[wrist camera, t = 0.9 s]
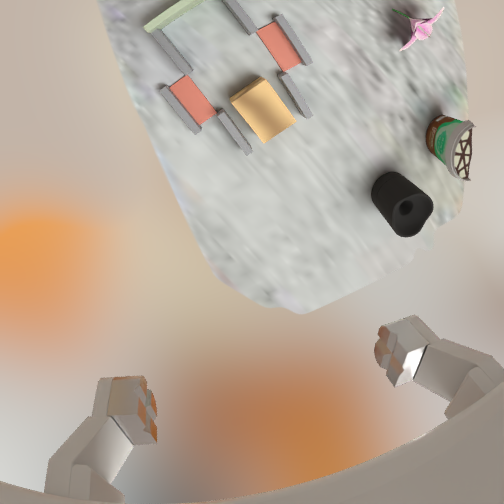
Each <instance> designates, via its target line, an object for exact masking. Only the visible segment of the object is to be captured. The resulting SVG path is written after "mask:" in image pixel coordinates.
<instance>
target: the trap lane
mask: <svg viewBox="0 0 504 504" xmlns="http://www.w3.org/2000/svg"><path fill="white" fill-rule="evenodd" d="M203 1H205V0H181V1H179V2H177V3H176V4H174V5H173V6H171V7H170V8H169V9H167V10H166V11H164V12H163V13H161V14H160V15H158V16H157V17H156V18H154V19H153V20H152V21H150V22H149V23H148V24H146V25H145V26H144V27H143V28H144V29H145V30H146V31H147V32H148V33H150V34H151V35H152V36H153V37H154V38H155V39H156V41H157V42H158V43H159V44H160V45H161V47H162V48H163V49H164V50H165V51H166V53H167V54H168V55H169V56H170V57H171V59H172V60H173V61H174V62H175V63H176V65H177V66H178V67H179V68H180V70H181V71H182V72H183V73H184V75H185V76H184V77H183V78H182V79H180V80H179V81H178V82H176V83H175V84H174V85H172V86H171V87H170V88H169V86H168V85H166V86H165V87H164V88H162V89H161V90H160V91H159V92H160V93H161V94H162V95H163V96H164V98H165V99H166V100H167V101H168V103H169V104H170V105H171V106H172V107H173V109H174V110H175V111H176V112H177V113H178V115H179V116H180V117H181V118H182V120H183V121H184V122H185V123H186V124H187V126H188V127H189V128H190V129H191V131H192V132H193V133H194V134H195V135H196V134H197V133H199V132H200V131H201V129H202V127H201V126H200V124H202V123H203V122H205V121H206V120H207V119H209V118H210V117H212V116H213V115H215V114H216V113H217V117H218V118H219V119H220V121H221V122H222V123H223V125H224V126H225V127H226V129H227V130H228V131H229V133H230V134H231V135H232V137H233V138H234V139H235V141H236V142H237V143H238V145H239V146H240V147H241V149H242V150H243V152H244V153H245V154H246V156H247V155H249V154H250V153H252V152H253V150H252V148H251V146H250V144H249V143H248V142H247V140H246V139H245V137H244V136H243V135H242V133H241V132H240V130H239V129H238V128H237V126H236V125H235V124H234V122H233V121H232V120H231V118H230V117H229V115H228V114H227V113H226V111H225V110H224V109H222V110H220V111H219V112H216V111H215V109H214V108H213V107H212V106H211V104H210V103H209V102H208V100H207V99H206V98H205V96H204V95H203V94H202V93H201V91H200V90H199V89H198V88H197V86H196V85H195V84H194V82H193V81H192V80H191V79H190V77H189V76H188V74H189V73H191V72H192V71H193V69H192V67H191V66H190V65H189V64H188V62H187V61H186V60H185V59H184V57H183V56H182V55H181V54H180V52H179V51H178V50H177V49H176V48H175V46H174V45H173V44H172V43H171V42H170V40H169V39H168V38H167V37H166V36H165V34H164V33H163V32H162V31H161V29H162V28H164V27H165V26H167V25H168V24H169V23H171V22H172V21H174V20H175V19H177V18H178V17H180V16H181V15H183V14H184V13H186V12H187V11H189V10H190V9H192V8H194V7H195V6H197V5H199V4H200V3H202V2H203ZM222 1H223V2H224V3H225V5H226V6H227V7H228V8H229V10H230V11H231V12H232V13H233V15H234V16H235V17H236V19H237V20H238V21H239V23H240V24H241V25H242V27H243V28H244V29H245V31H246V32H247V33H248V35H251V34H253V33H255V32H256V33H257V34H258V35H259V37H260V38H261V40H262V41H263V43H264V44H265V45H266V47H267V48H268V50H269V51H270V53H271V54H272V56H273V57H274V59H275V60H276V62H277V63H278V65H279V66H280V68H281V69H282V71H283V72H282V73H280V74H278V75H277V76H278V78H279V80H280V81H281V83H282V84H283V86H284V87H285V89H286V90H287V92H288V94H289V95H290V97H291V98H292V100H293V102H294V103H295V105H296V107H297V108H298V110H299V111H300V113H301V115H302V116H303V117H305V118H306V119H308V118H310V117H312V116H313V114H312V112H311V111H310V109H309V107H308V105H307V104H306V102H305V100H304V99H303V97H302V95H301V94H300V92H299V90H298V89H297V87H296V86H295V84H294V82H293V81H292V79H291V78H290V76H289V74H288V73H286V72H284V71H286V70H288V69H290V68H292V67H294V66H295V65H297V64H299V63H301V62H302V64H303V65H305V66H307V65H309V64H311V63H313V61H312V59H311V58H310V56H309V54H308V53H307V51H306V50H305V48H304V46H303V45H302V43H301V42H300V40H299V38H298V37H297V35H296V34H295V32H294V31H293V29H292V28H291V26H290V25H289V23H288V22H287V20H286V19H285V18H284V16H283V15H282V14H281V15H279V16H277V17H275V18H273V20H274V21H275V22H273V23H271V24H269V25H267V26H265V27H263V28H261V29H260V30H258V29H257V27H256V26H255V25H254V23H253V22H252V21H251V19H250V18H249V17H248V15H247V14H246V13H245V11H244V10H243V9H242V7H241V6H240V5H239V4H238V2H237V1H236V0H222Z"/></svg>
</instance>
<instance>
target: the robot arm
mask: <svg viewBox="0 0 504 504" xmlns="http://www.w3.org/2000/svg"><path fill="white" fill-rule="evenodd" d="M378 336H379V337H380V339H379V340H378V341H377V342H376V343H375V348H374V353H375V358H376V361H377V363H378V364H379V366H380V367H382V368H384V369H386V370H387V372H386V376H387V377H388V379H389V380H390V381H391V383H392V384H393V386H394V387H397V386H399V385H402V384H404V383H407V382H409V381H412V380H413V381H414V382H415V383H417V384H419V385H421V386H423V387H424V388H426V389H428V390H430V391H431V392H433V393H435V394H437V395H439V396H440V397H442V398H444V399H446V400H448V401H450V404H449V406H448V407H447V409H446V410H445V413H444V414H445V415H446V417H447V418H448V420H447V421H446V422H444V423H442V424H441V425H439V426H437V427H436V428H434V429H432V430H430V431H429V432H427V433H425V434H423V435H421V436H419V437H418V438H416V439H414V440H412V441H410V442H408V443H406V444H404V445H402V446H400V447H398V448H396V449H393V450H391V451H389V452H387V453H385V454H382V455H380V456H378V457H376V458H373V459H371V460H369V461H366V462H364V463H361V464H358V465H356V466H354V467H351V468H348V469H346V470H342V471H340V472H337V473H335V474H331V475H328V476H325V477H322V478H319V479H315V480H312V481H309V482H305V483H301V484H298V485H294V486H290V487H286V488H282V489H278V490H274V491H269V492H264V493H259V494H254V495H249V496H243V497H237V498H231V499H223V500H215V501H207V502H194V503H179V504H504V369H503V367H502V366H501V365H500V364H499V363H498V362H497V361H496V360H495V359H494V358H493V357H492V356H491V355H488V354H485V353H483V352H480V351H477V350H474V349H471V348H468V347H466V346H463V345H460V344H457V343H454V342H452V341H449V340H446V339H441V340H440V339H439V338H438V336H436V334H435V333H434V332H433V331H432V330H431V329H430V328H429V327H428V326H427V325H426V324H425V323H424V322H423V321H422V320H421V319H420V318H419V317H418V316H416V315H412V316H409V317H406V318H403V319H400V320H398V321H394V322H392V323H388V324H385V325H382V326H381V327H380V328H379V331H378ZM156 417H157V407H156V401H155V398H154V395H153V393H152V391H151V390H149V389H147V381H146V379H145V377H144V376H142V375H141V376H126V377H111V378H100V380H99V381H98V385H97V391H96V396H95V401H94V406H93V412H92V417H87V418H86V419H85V421H84V422H83V423H82V424H81V425H80V426H79V427H78V428H77V429H76V430H75V432H74V433H73V434H72V435H71V436H70V437H69V438H68V439H67V440H66V442H64V444H63V445H62V446H61V447H60V448H59V449H58V450H57V451H56V453H55V454H54V455H53V456H52V457H51V458H50V459H49V463H48V468H47V475H46V481H45V489H44V493H42V492H38V491H34V490H30V489H26V488H22V487H18V486H15V485H12V484H8V483H5V482H2V481H0V504H125V498H124V495H123V494H122V493H121V492H120V491H119V490H117V489H116V488H114V487H113V486H112V485H111V483H112V481H113V480H114V478H115V477H116V475H117V473H118V472H119V470H120V468H121V466H122V465H123V463H124V462H125V460H126V458H127V457H128V455H129V454H130V452H131V450H132V449H133V447H134V446H133V445H143V444H156V443H157V426H156V425H155V423H154V420H155V418H156Z"/></svg>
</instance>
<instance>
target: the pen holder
mask: <svg viewBox="0 0 504 504" xmlns="http://www.w3.org/2000/svg"><path fill="white" fill-rule="evenodd" d="M372 200H373V202H374V204H375V206H376V207H377V208H378V210H379V211H380V213H381V214H382V215H383V217H384V218H385V219H386V221H387V222H388V223H389V225H390V226H391V227H392V229H393V230H394V231H395V233H396V234H397V235H399V236H401V237H411V236H414V235H416V234H417V233H418V232H420V230H421V229H422V227H423V225H424V223H425V222H426V220H427V219H428V217H429V216H430V215H431V213H432V212H433V202H432V200H431V198H430V197H429V196H428V195H427V194H425V193H424V192H423V191H422V190H420V189H419V188H418V187H417V186H415V185H414V184H413V183H412V182H410V181H409V180H408V179H406V178H405V177H404V176H402V175H401V174H399V173H395V172H391V173H387V174H385V175H383V176H382V177H380V178H379V179H378V180H377V182H376V183H375V185H374V187H373V190H372Z"/></svg>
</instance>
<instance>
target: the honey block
mask: <svg viewBox="0 0 504 504" xmlns="http://www.w3.org/2000/svg"><path fill="white" fill-rule="evenodd" d="M230 101H231V103H232V104H233V106H234V107H235V108H236V109H237V111H238V112H239V113H240V114H241V115H242V117H243V118H244V119H245V120H246V122H247V123H248V124H249V125H250V127H251V128H252V129H253V130H254V132H255V133H256V134H257V136H258V137H259V138H260V139H261V141H262V142H263V143H266V142H267V141H268V140H270V139H271V138H273V137H274V136H276V135H277V134H279V133H280V132H282V131H283V130H285V129H286V128H288V127H289V126H291V125H292V124H294V123H295V122H296V120H295V119H294V117H293V116H292V114H291V113H290V112H289V110H288V109H287V107H286V106H285V104H284V103H283V102H282V100H281V99H280V98H279V96H278V95H277V93H276V92H275V91H274V89H273V88H272V87H271V85H270V84H269V83H268V81H267V80H266V79H264V78H262V77H259V78H258V79H256V80H255V81H253V82H252V83H251V84H249V85H248V86H246V87H245V88H243V89H242V90H240V91H239V92H238V93H236V94H235V95H233V96H232V97H231V98H230Z"/></svg>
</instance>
